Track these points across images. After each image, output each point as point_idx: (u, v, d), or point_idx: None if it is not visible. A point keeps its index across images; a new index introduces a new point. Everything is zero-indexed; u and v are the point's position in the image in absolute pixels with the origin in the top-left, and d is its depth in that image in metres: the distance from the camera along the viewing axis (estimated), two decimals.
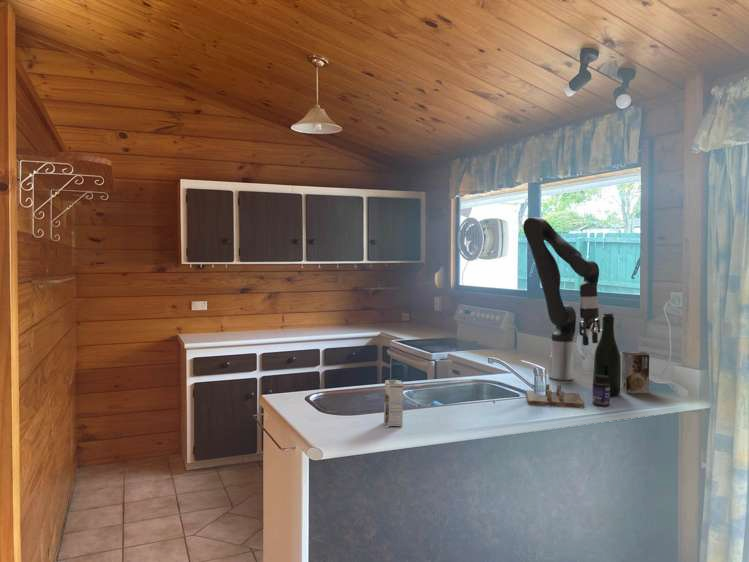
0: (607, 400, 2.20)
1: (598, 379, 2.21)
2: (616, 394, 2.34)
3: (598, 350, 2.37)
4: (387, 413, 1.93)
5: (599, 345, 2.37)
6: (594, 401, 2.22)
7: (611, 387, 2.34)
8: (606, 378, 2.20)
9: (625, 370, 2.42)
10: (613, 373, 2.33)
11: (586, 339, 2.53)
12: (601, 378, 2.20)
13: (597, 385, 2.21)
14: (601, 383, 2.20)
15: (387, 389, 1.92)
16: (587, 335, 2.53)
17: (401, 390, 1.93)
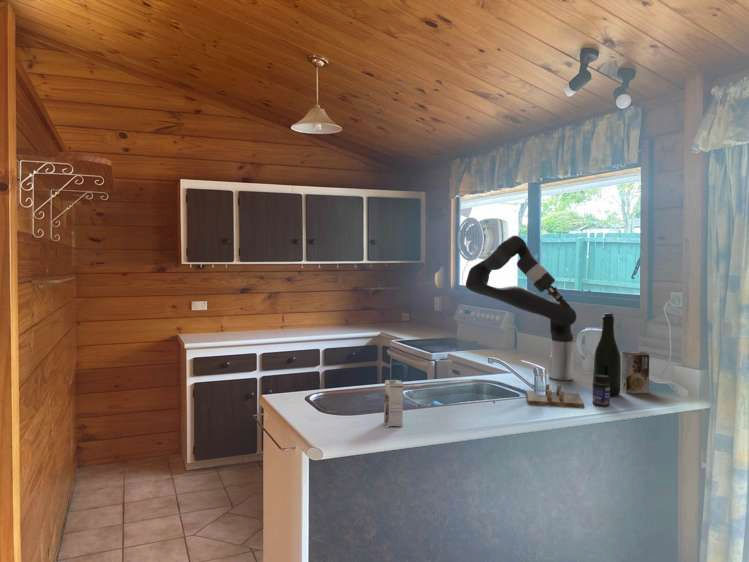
0: (607, 400, 2.20)
1: (598, 379, 2.21)
2: (616, 394, 2.34)
3: (598, 350, 2.37)
4: (387, 413, 1.93)
5: (599, 345, 2.37)
6: (594, 401, 2.22)
7: (611, 387, 2.34)
8: (606, 378, 2.20)
9: (625, 370, 2.42)
10: (613, 373, 2.33)
11: (565, 302, 2.23)
12: (601, 378, 2.20)
13: (597, 385, 2.21)
14: (601, 383, 2.20)
15: (387, 389, 1.92)
16: None
17: (401, 390, 1.93)
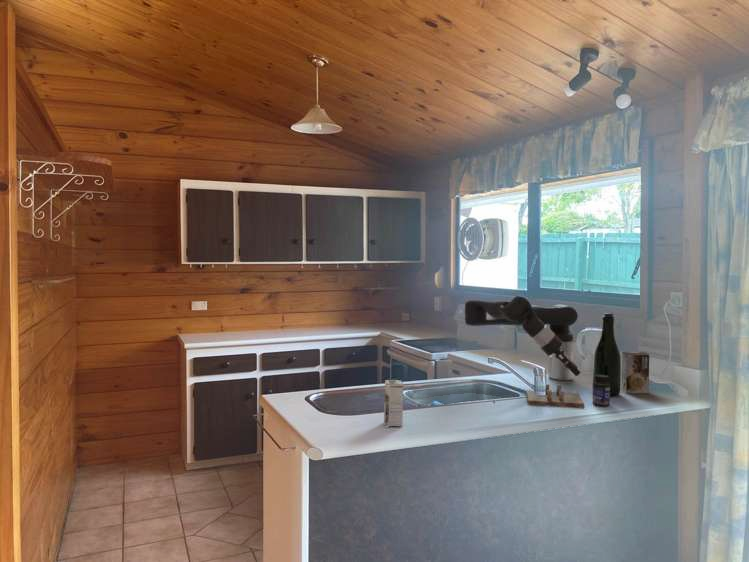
0: (607, 400, 2.20)
1: (598, 379, 2.21)
2: (616, 394, 2.34)
3: (598, 350, 2.37)
4: (387, 413, 1.93)
5: (599, 345, 2.37)
6: (594, 401, 2.22)
7: (611, 387, 2.34)
8: (606, 378, 2.20)
9: (625, 370, 2.42)
10: (613, 373, 2.33)
11: (575, 368, 2.19)
12: (601, 378, 2.20)
13: (597, 385, 2.21)
14: (601, 383, 2.20)
15: (387, 389, 1.92)
16: (573, 363, 2.19)
17: (401, 390, 1.93)
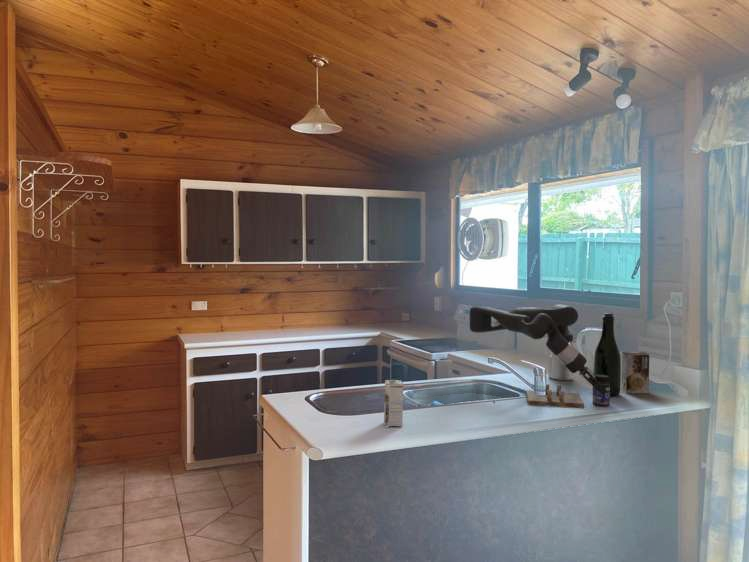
0: (607, 400, 2.20)
1: (598, 379, 2.21)
2: (616, 394, 2.34)
3: (598, 350, 2.37)
4: (387, 413, 1.93)
5: (599, 345, 2.37)
6: (594, 401, 2.22)
7: (611, 387, 2.34)
8: (606, 378, 2.20)
9: (625, 370, 2.42)
10: (613, 373, 2.33)
11: (601, 386, 2.19)
12: (601, 378, 2.20)
13: None
14: (601, 383, 2.20)
15: (387, 389, 1.92)
16: None
17: (401, 390, 1.93)
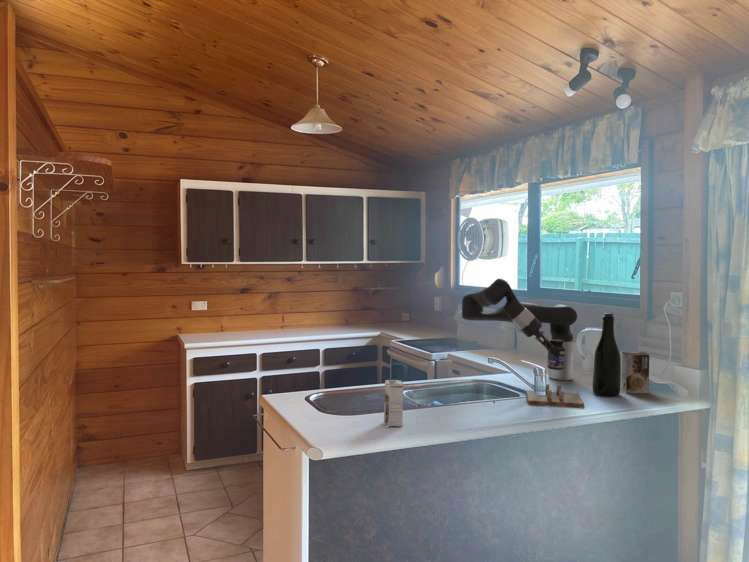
0: (561, 363, 2.25)
1: (553, 343, 2.26)
2: (616, 394, 2.34)
3: (598, 350, 2.37)
4: (387, 413, 1.93)
5: (599, 345, 2.37)
6: (548, 365, 2.27)
7: (611, 387, 2.34)
8: (560, 342, 2.25)
9: (625, 370, 2.42)
10: (613, 373, 2.33)
11: (555, 350, 2.23)
12: (556, 342, 2.25)
13: None
14: (555, 347, 2.25)
15: (387, 389, 1.92)
16: None
17: (401, 390, 1.93)
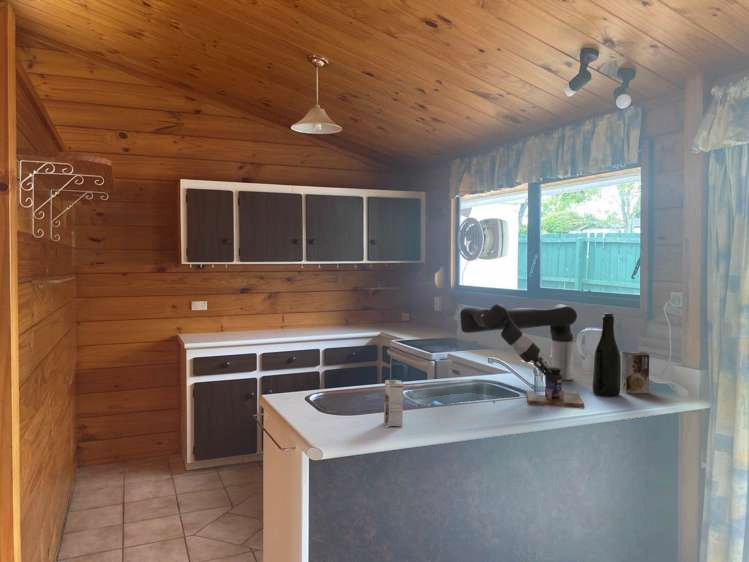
0: None
1: None
2: (616, 394, 2.34)
3: (598, 350, 2.37)
4: (387, 413, 1.93)
5: (599, 345, 2.37)
6: (546, 393, 2.28)
7: (611, 387, 2.34)
8: (558, 370, 2.26)
9: (625, 370, 2.42)
10: (613, 373, 2.33)
11: (552, 375, 2.23)
12: (553, 370, 2.26)
13: None
14: None
15: (387, 389, 1.92)
16: (550, 370, 2.23)
17: (401, 390, 1.93)
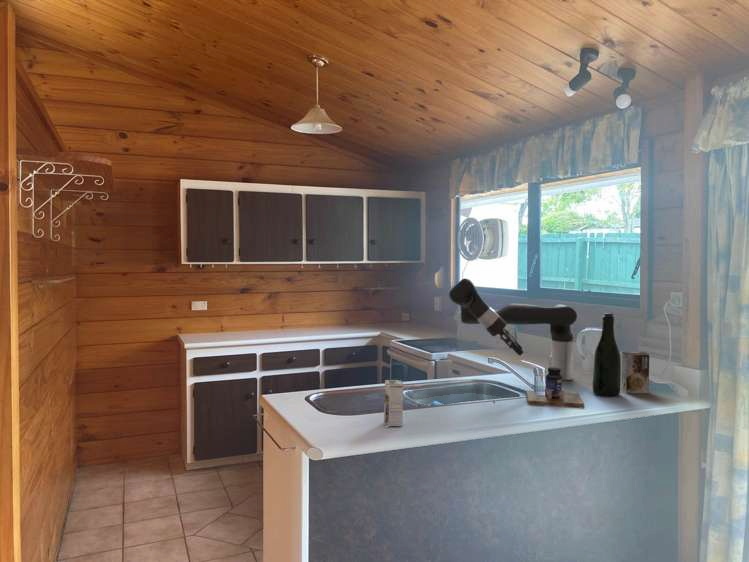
0: None
1: (550, 371, 2.27)
2: (616, 394, 2.34)
3: (598, 350, 2.37)
4: (387, 413, 1.93)
5: (599, 345, 2.37)
6: (546, 393, 2.28)
7: (611, 387, 2.34)
8: (558, 370, 2.26)
9: (625, 370, 2.42)
10: (613, 373, 2.33)
11: (518, 348, 2.25)
12: (553, 370, 2.26)
13: (549, 377, 2.26)
14: (553, 375, 2.26)
15: (387, 389, 1.92)
16: (516, 343, 2.25)
17: (401, 390, 1.93)
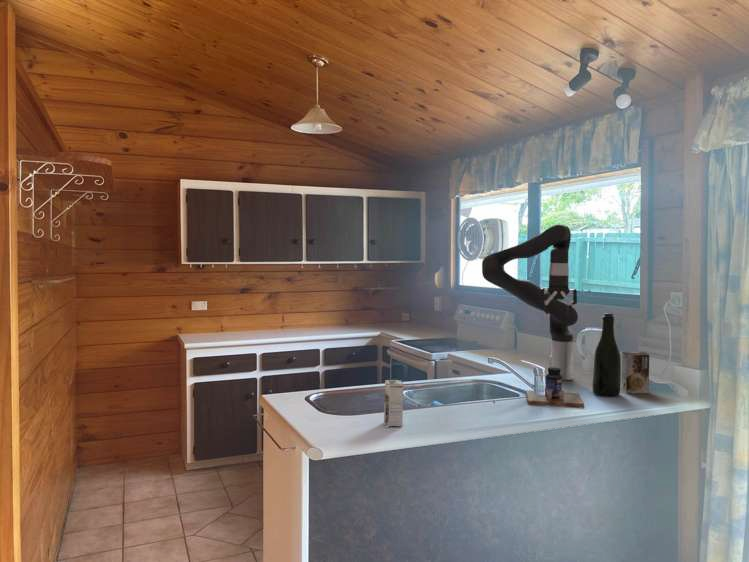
0: None
1: (550, 371, 2.27)
2: (616, 394, 2.34)
3: (598, 350, 2.37)
4: (387, 413, 1.93)
5: (599, 345, 2.37)
6: (546, 393, 2.28)
7: (611, 387, 2.34)
8: (558, 370, 2.26)
9: (625, 370, 2.42)
10: (613, 373, 2.33)
11: None
12: (553, 370, 2.26)
13: (549, 377, 2.26)
14: (553, 375, 2.26)
15: (387, 389, 1.92)
16: None
17: (401, 390, 1.93)
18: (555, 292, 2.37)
